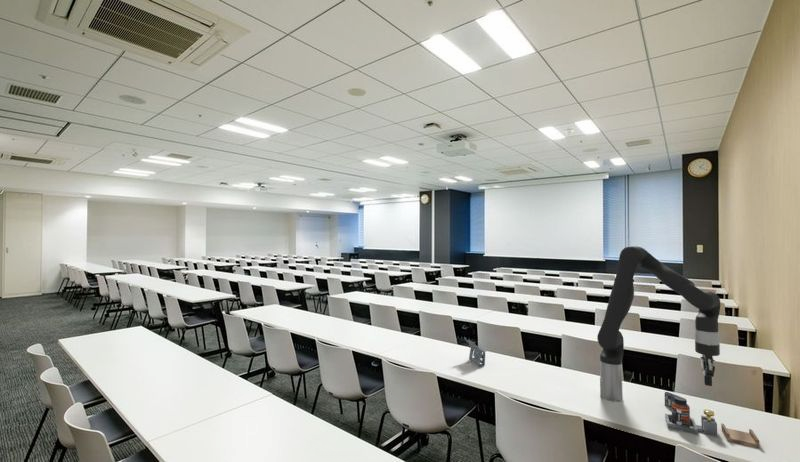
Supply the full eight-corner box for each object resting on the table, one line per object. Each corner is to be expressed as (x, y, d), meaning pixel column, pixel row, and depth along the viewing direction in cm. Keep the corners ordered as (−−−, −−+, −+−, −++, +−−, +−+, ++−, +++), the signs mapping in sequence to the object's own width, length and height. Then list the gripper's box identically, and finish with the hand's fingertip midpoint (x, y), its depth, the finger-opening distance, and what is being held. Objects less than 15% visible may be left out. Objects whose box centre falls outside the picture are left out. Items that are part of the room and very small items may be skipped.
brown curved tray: (727, 440, 137) (726, 433, 137) (721, 430, 144) (721, 423, 144) (759, 448, 132) (759, 440, 132) (751, 436, 140) (751, 429, 140)
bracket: (464, 360, 228) (464, 337, 228) (477, 359, 231) (477, 335, 231) (474, 367, 215) (474, 342, 216) (488, 365, 218) (488, 341, 219)
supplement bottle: (682, 430, 144) (682, 402, 144) (668, 423, 150) (667, 396, 150) (693, 428, 146) (693, 400, 146) (678, 421, 151) (678, 394, 152)
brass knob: (704, 427, 142) (704, 412, 143) (703, 424, 145) (702, 408, 145) (715, 429, 141) (714, 414, 141) (713, 426, 143) (713, 410, 144)
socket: (667, 428, 146) (667, 415, 146) (665, 418, 154) (664, 406, 154) (718, 439, 138) (718, 426, 138) (713, 428, 146) (712, 415, 146)
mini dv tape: (664, 405, 166) (664, 392, 167) (666, 404, 167) (666, 391, 167) (684, 413, 159) (683, 399, 159) (686, 412, 159) (686, 398, 159)
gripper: (692, 336, 151) (693, 377, 151) (698, 344, 140) (699, 389, 140) (715, 339, 147) (716, 381, 147) (723, 347, 136) (724, 393, 136)
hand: (708, 385), depth 143 cm, fingers closed
